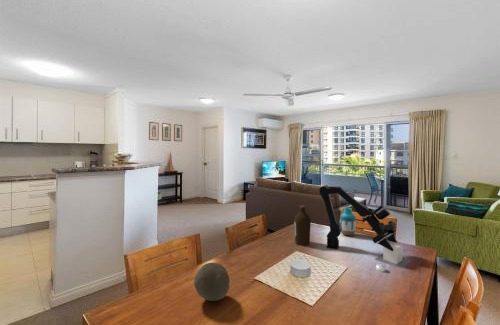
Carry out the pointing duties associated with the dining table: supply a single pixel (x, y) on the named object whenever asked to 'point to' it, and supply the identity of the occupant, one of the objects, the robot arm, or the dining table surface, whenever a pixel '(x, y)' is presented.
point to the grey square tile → (400, 264)
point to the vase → (348, 222)
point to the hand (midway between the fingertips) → (395, 248)
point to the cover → (393, 252)
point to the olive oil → (302, 227)
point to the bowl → (380, 268)
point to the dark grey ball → (212, 281)
